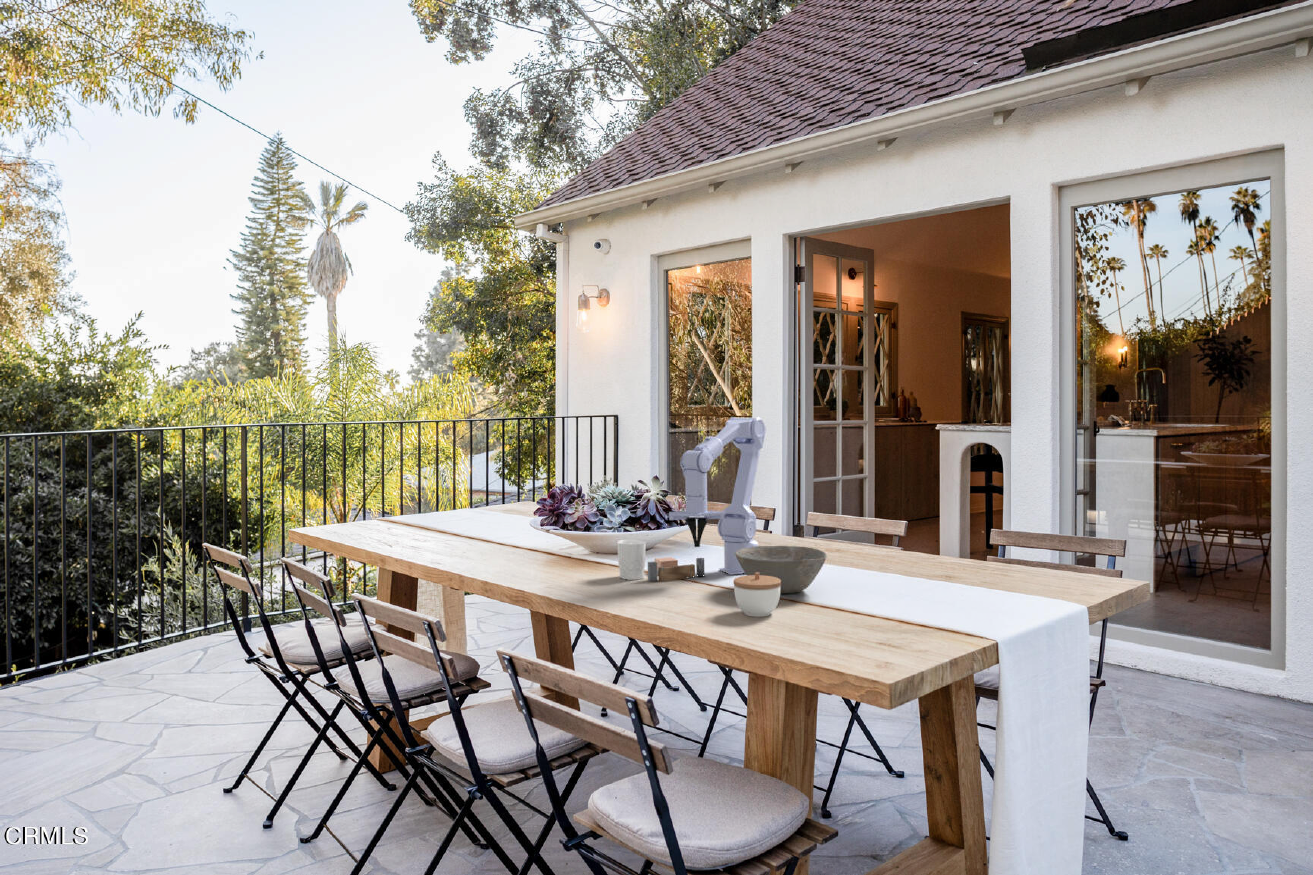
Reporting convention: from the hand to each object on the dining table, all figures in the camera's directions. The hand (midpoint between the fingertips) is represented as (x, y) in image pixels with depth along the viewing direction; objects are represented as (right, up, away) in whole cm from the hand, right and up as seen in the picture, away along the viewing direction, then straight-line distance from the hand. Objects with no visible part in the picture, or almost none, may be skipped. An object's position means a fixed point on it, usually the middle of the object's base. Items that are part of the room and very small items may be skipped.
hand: (697, 546), depth 227 cm
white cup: (-18, -10, +9) cm, 22 cm away
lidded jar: (+12, -11, -32) cm, 36 cm away
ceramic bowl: (+21, -10, -11) cm, 25 cm away
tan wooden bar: (-5, -10, +6) cm, 13 cm away
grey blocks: (-5, -10, +7) cm, 13 cm away
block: (-8, -10, +15) cm, 19 cm away
